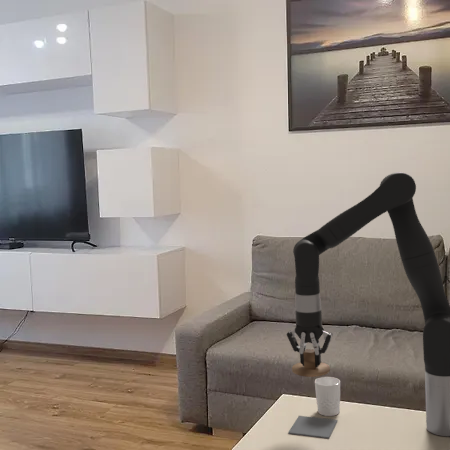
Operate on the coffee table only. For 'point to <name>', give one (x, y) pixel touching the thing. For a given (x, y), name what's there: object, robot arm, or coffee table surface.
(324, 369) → the lid
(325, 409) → the white cup
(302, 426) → the mat
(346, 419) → the coffee table surface
